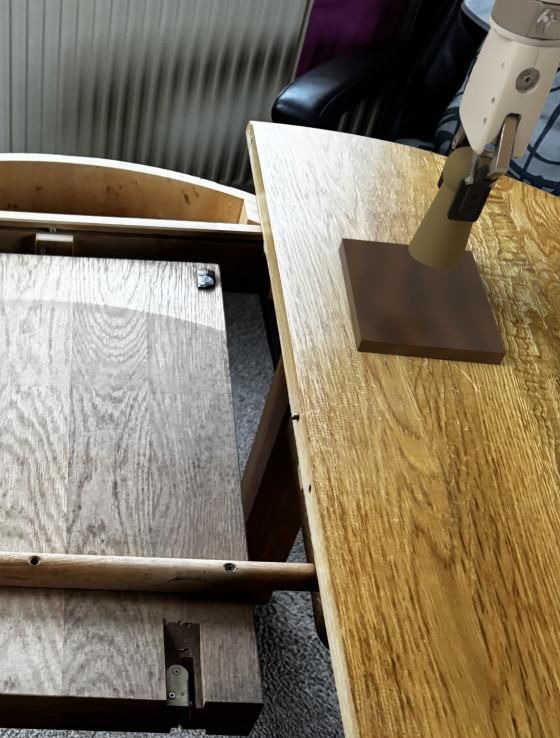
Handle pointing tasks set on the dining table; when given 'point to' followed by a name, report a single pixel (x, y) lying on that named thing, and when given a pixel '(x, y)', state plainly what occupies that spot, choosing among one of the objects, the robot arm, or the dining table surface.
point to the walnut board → (417, 305)
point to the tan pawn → (445, 218)
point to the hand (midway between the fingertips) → (456, 202)
